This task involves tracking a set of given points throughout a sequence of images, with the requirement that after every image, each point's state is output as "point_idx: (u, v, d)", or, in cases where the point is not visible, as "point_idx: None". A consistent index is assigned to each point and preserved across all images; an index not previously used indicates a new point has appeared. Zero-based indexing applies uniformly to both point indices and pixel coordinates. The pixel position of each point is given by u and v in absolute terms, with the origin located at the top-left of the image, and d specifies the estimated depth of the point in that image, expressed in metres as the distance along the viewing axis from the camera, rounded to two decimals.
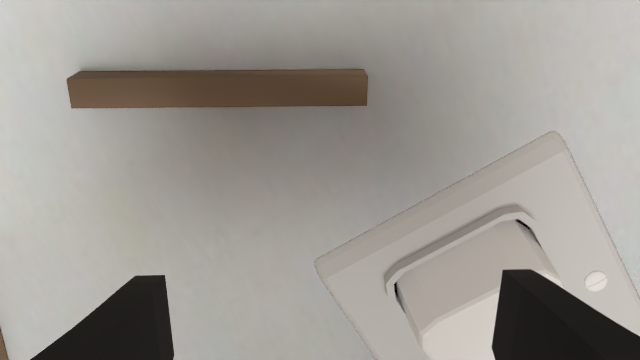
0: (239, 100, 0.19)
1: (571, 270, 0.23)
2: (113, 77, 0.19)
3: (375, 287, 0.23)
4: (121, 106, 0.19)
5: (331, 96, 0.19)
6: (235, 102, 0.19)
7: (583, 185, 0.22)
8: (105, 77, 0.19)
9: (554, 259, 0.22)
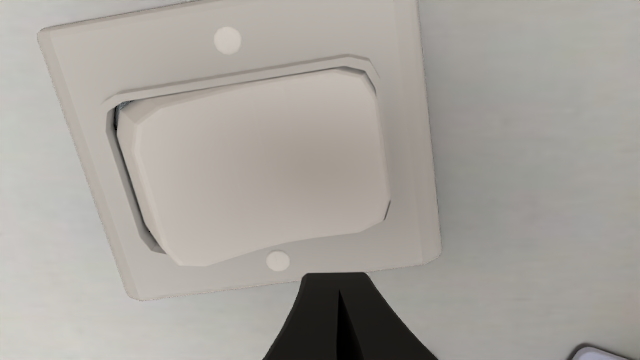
0: None
1: (204, 64, 0.19)
2: None
3: (163, 261, 0.22)
4: None
5: None
6: None
7: (98, 24, 0.19)
8: None
9: (168, 88, 0.19)
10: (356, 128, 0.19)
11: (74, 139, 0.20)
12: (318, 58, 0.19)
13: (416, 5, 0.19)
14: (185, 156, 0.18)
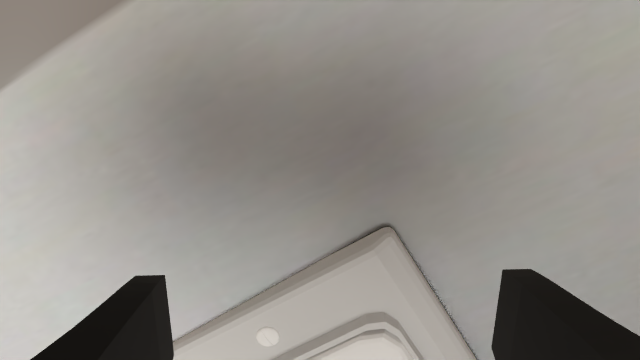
0: None
1: (257, 356, 0.23)
2: None
3: None
4: None
5: None
6: None
7: None
8: None
9: None
10: None
11: None
12: (343, 326, 0.22)
13: (406, 257, 0.21)
14: None
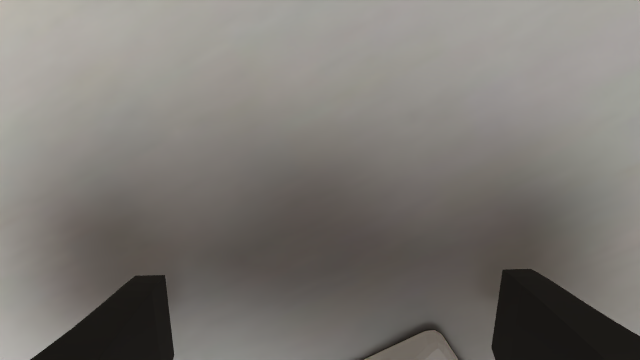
0: None
1: None
2: None
3: None
4: None
5: None
6: None
7: None
8: None
9: None
10: None
11: None
12: None
13: None
14: None
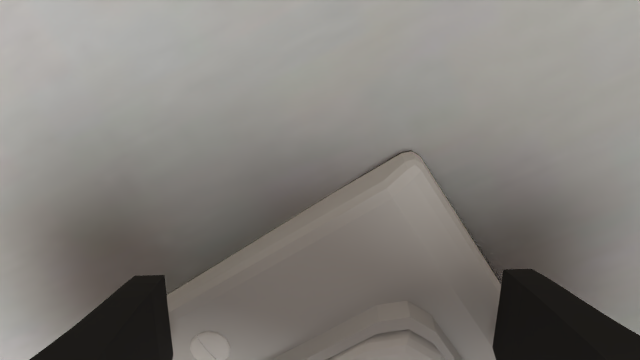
0: None
1: None
2: None
3: None
4: None
5: None
6: None
7: None
8: None
9: None
10: None
11: None
12: (338, 326, 0.13)
13: (445, 203, 0.12)
14: None
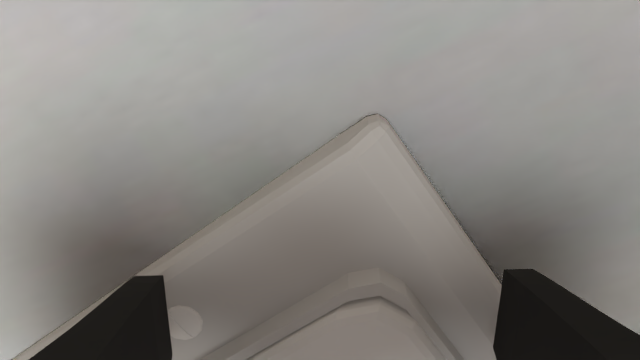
0: None
1: None
2: None
3: None
4: None
5: None
6: None
7: None
8: None
9: None
10: None
11: None
12: (309, 296, 0.13)
13: (412, 165, 0.12)
14: None
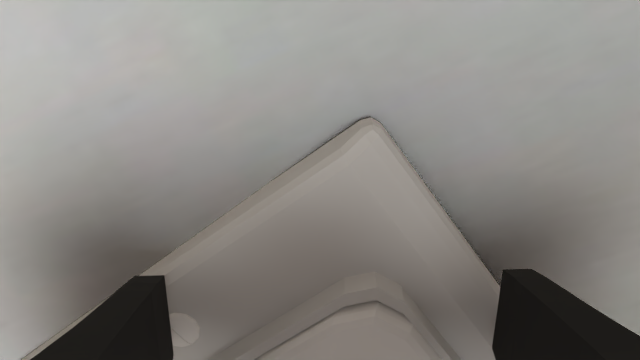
0: None
1: None
2: None
3: None
4: None
5: None
6: None
7: None
8: None
9: None
10: None
11: None
12: (306, 301, 0.12)
13: (407, 169, 0.12)
14: None
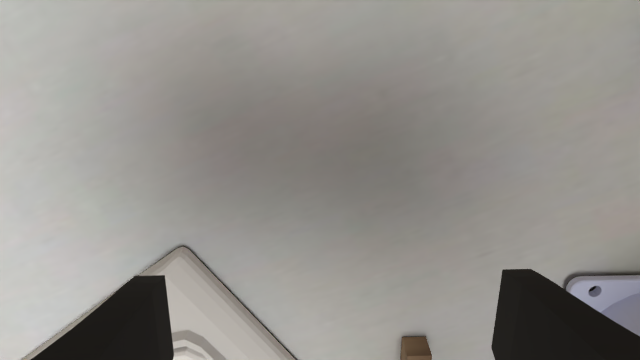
0: None
1: None
2: None
3: None
4: None
5: None
6: None
7: None
8: None
9: None
10: None
11: None
12: None
13: (202, 275, 0.22)
14: None
